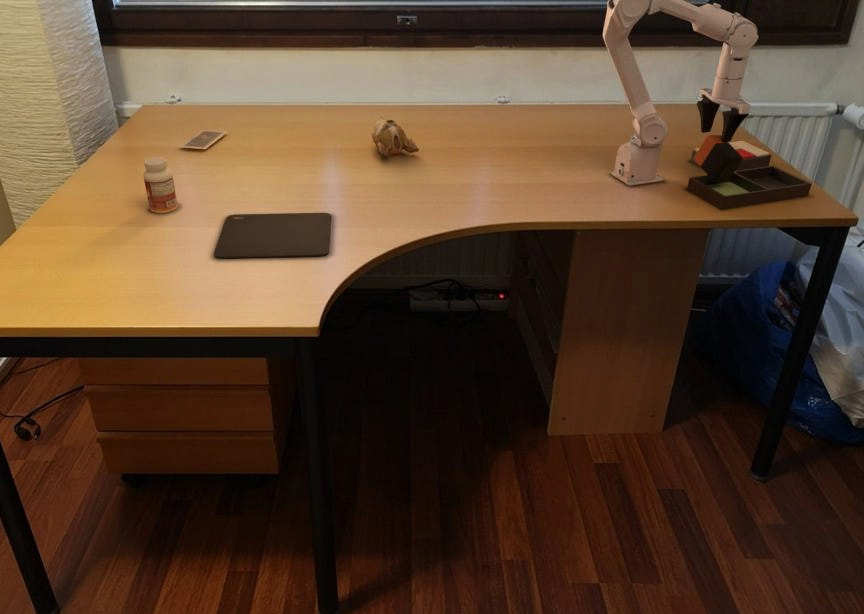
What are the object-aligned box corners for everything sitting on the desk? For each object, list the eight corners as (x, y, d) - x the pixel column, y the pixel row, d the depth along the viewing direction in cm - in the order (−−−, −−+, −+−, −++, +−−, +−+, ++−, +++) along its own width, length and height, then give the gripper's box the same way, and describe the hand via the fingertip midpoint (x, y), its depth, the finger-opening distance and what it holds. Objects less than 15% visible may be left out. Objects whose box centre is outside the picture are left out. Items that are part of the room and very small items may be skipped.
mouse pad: (331, 213, 163) (331, 212, 163) (328, 255, 146) (328, 254, 146) (227, 215, 163) (227, 214, 163) (212, 258, 146) (212, 257, 146)
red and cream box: (692, 147, 187) (742, 138, 190) (689, 163, 190) (739, 154, 193) (720, 161, 178) (773, 151, 182) (717, 178, 181) (769, 168, 184)
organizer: (721, 209, 164) (724, 197, 162) (686, 189, 174) (689, 177, 172) (808, 196, 170) (812, 183, 168) (769, 177, 180) (773, 165, 178)
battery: (729, 158, 165) (705, 131, 171) (713, 182, 170) (689, 156, 176) (744, 158, 167) (719, 132, 173) (728, 182, 172) (704, 156, 178)
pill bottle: (152, 203, 169) (143, 156, 163) (179, 202, 170) (171, 155, 163) (147, 214, 164) (138, 166, 158) (176, 213, 164) (167, 165, 158)
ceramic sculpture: (399, 108, 198) (422, 128, 187) (399, 139, 204) (421, 160, 193) (362, 113, 195) (383, 133, 184) (362, 145, 201) (382, 166, 190)
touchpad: (229, 135, 209) (228, 127, 208) (206, 153, 197) (204, 145, 195) (203, 133, 210) (202, 125, 209) (179, 150, 198) (177, 142, 197)
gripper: (767, 82, 161) (751, 144, 168) (722, 67, 172) (709, 125, 180) (740, 86, 159) (725, 148, 166) (697, 70, 170) (684, 128, 178)
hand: (715, 136), depth 173 cm, fingers open, 7 cm apart
